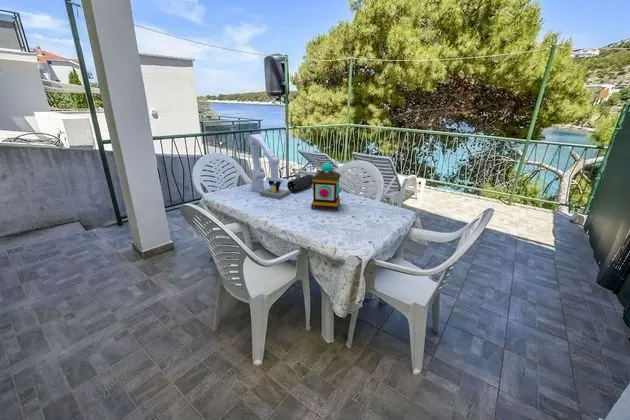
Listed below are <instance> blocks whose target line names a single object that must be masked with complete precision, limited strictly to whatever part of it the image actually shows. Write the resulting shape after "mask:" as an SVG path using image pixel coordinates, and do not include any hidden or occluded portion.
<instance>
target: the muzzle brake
mask: <svg viewBox="0 0 630 420" xmlns="http://www.w3.org/2000/svg"><path fill="white" fill-rule="evenodd" d="M314 176H315V175H312V174H305V175H303V176H301V177H298V178H296V179H295V178H294V179H292V180H289V181H288V182H287V184H286V187H287V189H288V191H290V193H291V194H292V193H296V192H298V191H300V190H301V191H302V189H307V188H308V187H310V186H313V181H312V178H313V177H314Z"/></svg>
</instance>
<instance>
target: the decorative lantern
mask: <svg viewBox="0 0 630 420" xmlns="http://www.w3.org/2000/svg"><path fill="white" fill-rule="evenodd" d="M313 176H314V177H313V178H312V181H313V185H311V186H312V187H311V189H312V192H313V193H312V194H313V195H312V196H313V197H312V198H313V199H312V202H311V205H310V208H311V210H314V209H315V208H314V207H325V208H327V207H328V208H334V211H335V212H337V211H338V206H339V204H340V203H341V198H340V195H339V194H341V192H342V188H341V187H340V179H341V176H342V174H341V173H339V172H336V171H335V170H334V169H333V166H332V165H331V164H330V163H329V162H325V163H324V164H323V165H322V166H321V170H319V171H318V172H316V174H314V175H313Z"/></svg>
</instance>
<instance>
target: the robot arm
mask: <svg viewBox="0 0 630 420" xmlns="http://www.w3.org/2000/svg"><path fill="white" fill-rule="evenodd" d="M247 141H248V147H250V149H249V150H250V153H251V158H252V165H253V169H252V170H251V177H252V179H251V191H252V190H254V191H253V192H258V191H260V192H262V191H263V190H267V188H265V187H264V186H265V185H264V184H265V183H264V180H265V181H267V183H268V185H269V188H271V184H274V183H275V185H276V191H279V189H280V187H281V184H283V183H284V179H281V178H279V164H280V158H279V156H276V154H274V152H273V151H272V149H270V148H268V146H267V144H266V143H265V140H264V136H263V134H261V133H257V134H255V133H254V134H249V135H248V138H247ZM258 147H260V148H261V149H262V150H263V151H264V152H263V153H264V155H265V157H266V158H267V160H268V164H269V168H270V169H269V170H270V177H266V172H265V168H264V167H262V166H261V161H260V156H259V150H258ZM260 192H259V193H260Z"/></svg>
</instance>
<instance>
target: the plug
mask: <svg viewBox="0 0 630 420" xmlns="http://www.w3.org/2000/svg"><path fill="white" fill-rule="evenodd" d="M275 183H276V182H274V184H271V187H270V188H271V192H273V193H277V192H279V191H276V185H275Z"/></svg>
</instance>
